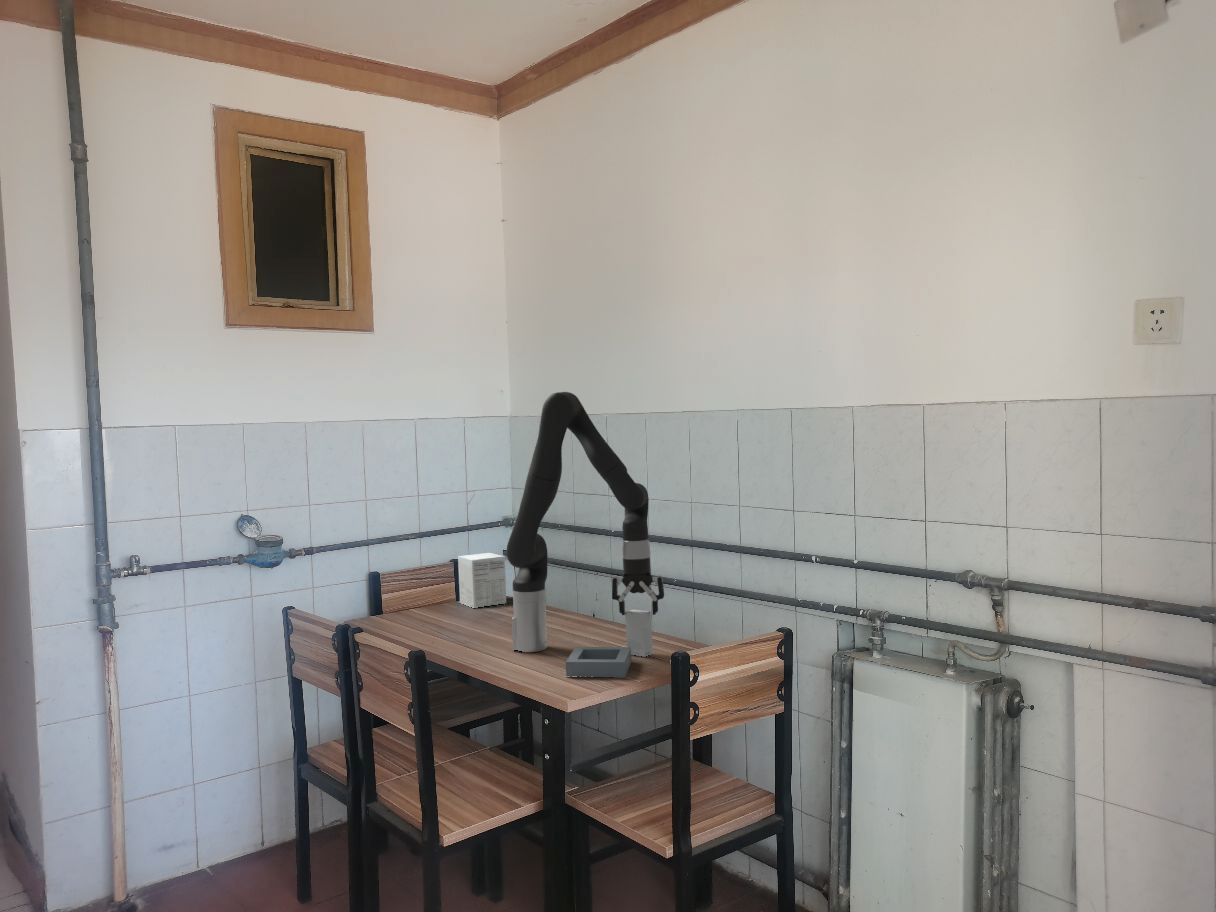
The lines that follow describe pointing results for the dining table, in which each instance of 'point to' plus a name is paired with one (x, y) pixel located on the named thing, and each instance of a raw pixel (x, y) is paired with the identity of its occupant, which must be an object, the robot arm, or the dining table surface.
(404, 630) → the dining table surface
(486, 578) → the supplement box
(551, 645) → the dining table surface
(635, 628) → the skincare box
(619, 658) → the socket block
